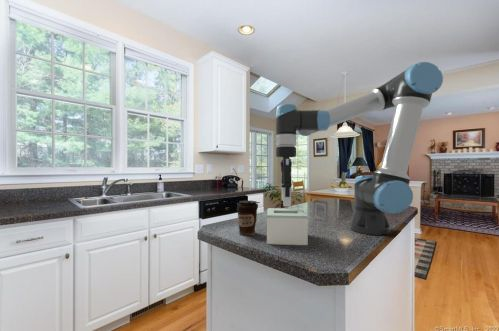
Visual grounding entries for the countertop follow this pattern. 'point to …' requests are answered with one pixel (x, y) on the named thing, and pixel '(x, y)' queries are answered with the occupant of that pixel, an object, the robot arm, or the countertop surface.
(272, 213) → the coin box
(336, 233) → the countertop surface
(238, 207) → the coffee cup
